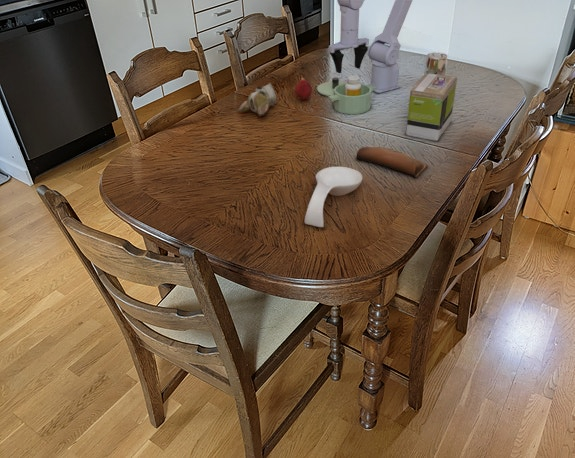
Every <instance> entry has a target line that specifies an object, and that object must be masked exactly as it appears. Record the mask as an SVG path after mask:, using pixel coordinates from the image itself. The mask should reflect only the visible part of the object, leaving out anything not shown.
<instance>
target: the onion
mask: <svg viewBox="0 0 575 458" xmlns="http://www.w3.org/2000/svg"><path fill="white" fill-rule="evenodd" d="M294 92H295V95H296V97H298V98H299V99H300V100H301V101H306V100H307V99H309V97H311V95H312V92H313V88H312V85H311V83H309V81H308V80H306V79H305V78H303V77H301V78H300V80H299V81H298V82H297V84H296V85H295V89H294Z"/></svg>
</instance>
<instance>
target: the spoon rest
mask: <svg viewBox="0 0 575 458" xmlns="http://www.w3.org/2000/svg"><path fill="white" fill-rule="evenodd" d="M363 179H364V177H363V175H362V173H361V172H360V171H358V170H357V169H354V168H351V167H347V166H329V167H325V168H322V169H321V170H318V172H317V173H315V181H316V186H315V188H314V190H313V193H312V195H311V197H310V200H309V202H308V205H307V209H306V212H305V216H304V224H305V225H309V226H313V227H317V228H324V226H325V225H324V224H325V222H324V221H325V220H324V205H325V202H326V199H327V196H328V195H332V196H335V197H336V196H337V197H341V196H346V195H348V194H350V193H352V192H353V191H355V190H356V189H358V188H359V186H360V185H361V184H362V181H363Z"/></svg>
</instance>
